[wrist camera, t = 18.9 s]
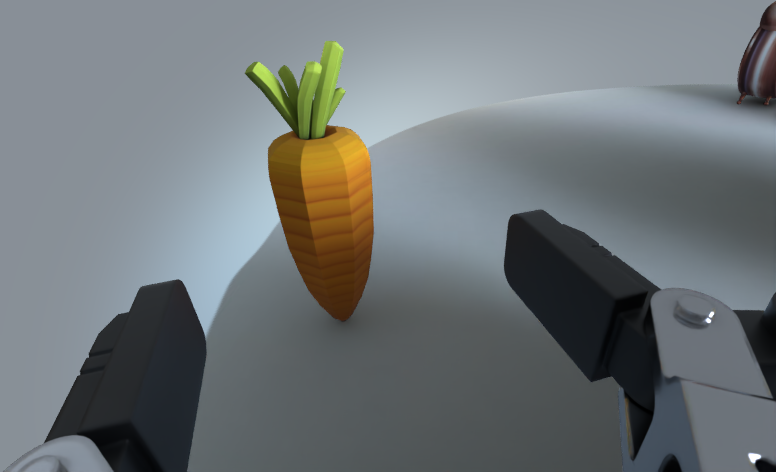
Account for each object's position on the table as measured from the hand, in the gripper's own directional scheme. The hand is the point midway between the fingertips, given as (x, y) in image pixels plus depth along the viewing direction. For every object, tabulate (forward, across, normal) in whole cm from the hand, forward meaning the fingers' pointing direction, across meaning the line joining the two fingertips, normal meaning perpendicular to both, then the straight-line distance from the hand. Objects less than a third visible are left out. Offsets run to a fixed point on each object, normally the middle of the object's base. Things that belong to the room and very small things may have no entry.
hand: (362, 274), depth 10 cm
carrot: (+10, 0, -11) cm, 15 cm away
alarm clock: (+35, +63, -11) cm, 73 cm away
